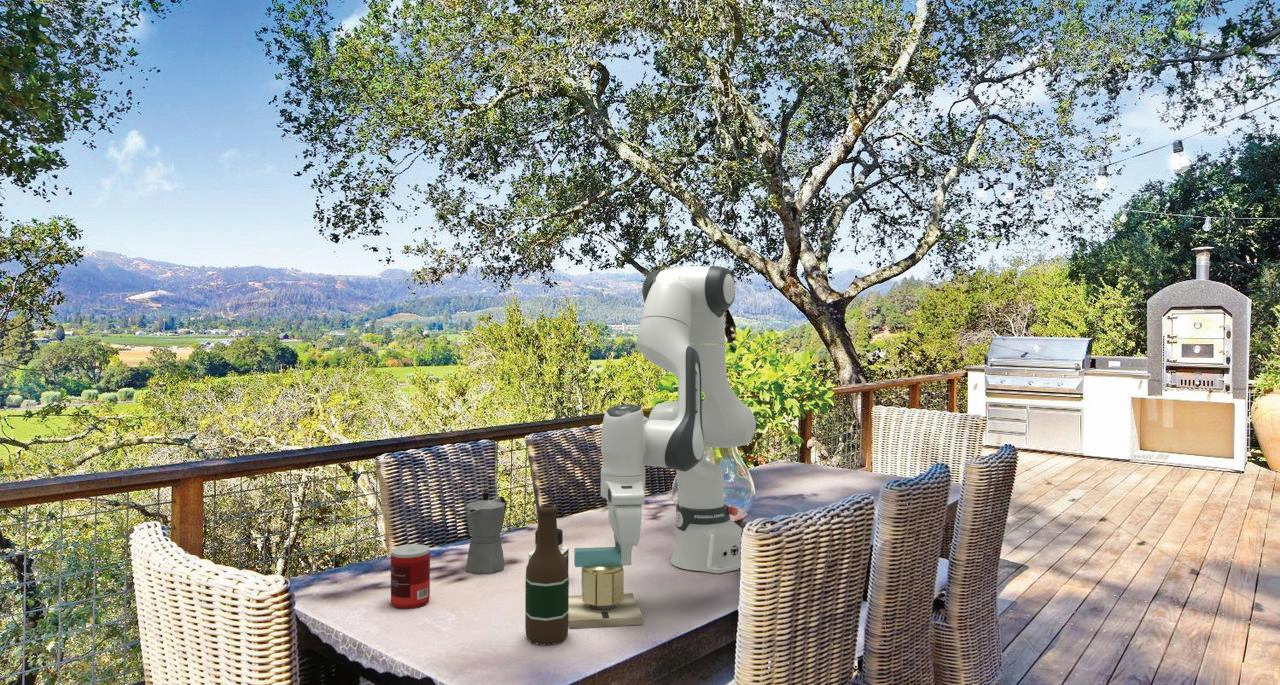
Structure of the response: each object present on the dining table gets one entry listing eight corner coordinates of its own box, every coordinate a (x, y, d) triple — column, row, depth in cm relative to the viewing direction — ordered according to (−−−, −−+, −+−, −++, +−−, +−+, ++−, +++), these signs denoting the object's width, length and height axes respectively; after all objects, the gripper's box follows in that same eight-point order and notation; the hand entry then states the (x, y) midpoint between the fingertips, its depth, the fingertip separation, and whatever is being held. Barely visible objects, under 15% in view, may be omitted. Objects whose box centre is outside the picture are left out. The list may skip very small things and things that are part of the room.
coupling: (573, 593, 160) (573, 544, 159) (627, 590, 161) (627, 542, 161) (575, 606, 152) (576, 555, 151) (632, 604, 153) (633, 553, 153)
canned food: (431, 595, 167) (431, 543, 167) (427, 608, 159) (428, 553, 159) (393, 597, 165) (393, 544, 165) (388, 610, 158) (388, 555, 157)
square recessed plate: (564, 603, 162) (565, 571, 162) (632, 600, 164) (632, 568, 164) (568, 628, 148) (569, 593, 148) (642, 624, 151) (643, 590, 150)
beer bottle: (568, 645, 140) (568, 510, 140) (523, 646, 140) (524, 510, 140) (568, 629, 148) (569, 501, 148) (526, 630, 148) (527, 501, 147)
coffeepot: (487, 579, 178) (488, 499, 178) (452, 574, 181) (452, 495, 181) (521, 560, 192) (522, 486, 192) (488, 556, 195) (488, 484, 195)
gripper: (601, 478, 167) (601, 544, 167) (612, 498, 146) (612, 572, 146) (631, 478, 167) (631, 543, 167) (646, 497, 147) (646, 571, 147)
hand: (622, 557), depth 157 cm, fingers open, 8 cm apart
